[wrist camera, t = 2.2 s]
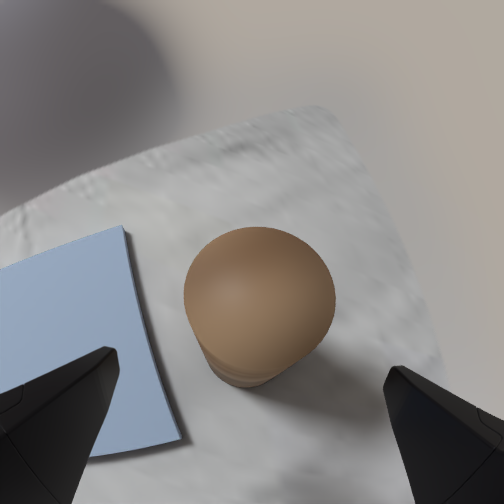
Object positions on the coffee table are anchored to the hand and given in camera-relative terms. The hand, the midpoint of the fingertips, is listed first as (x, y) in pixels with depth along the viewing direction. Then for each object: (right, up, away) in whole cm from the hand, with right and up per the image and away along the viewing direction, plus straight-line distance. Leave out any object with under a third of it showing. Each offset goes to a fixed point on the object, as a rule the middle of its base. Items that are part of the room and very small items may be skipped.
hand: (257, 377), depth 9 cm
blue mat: (-15, -3, +8) cm, 17 cm away
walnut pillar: (-1, -2, +10) cm, 10 cm away
